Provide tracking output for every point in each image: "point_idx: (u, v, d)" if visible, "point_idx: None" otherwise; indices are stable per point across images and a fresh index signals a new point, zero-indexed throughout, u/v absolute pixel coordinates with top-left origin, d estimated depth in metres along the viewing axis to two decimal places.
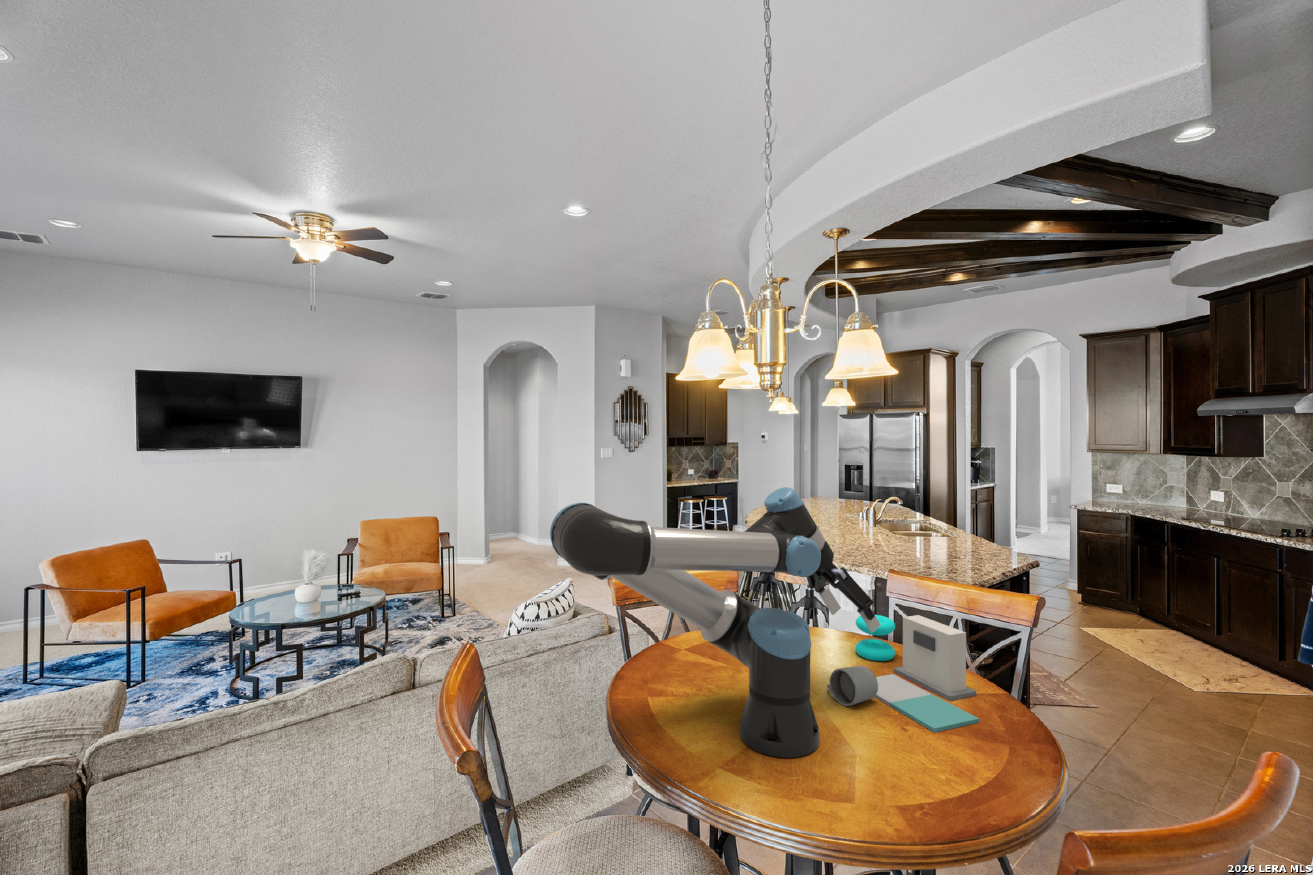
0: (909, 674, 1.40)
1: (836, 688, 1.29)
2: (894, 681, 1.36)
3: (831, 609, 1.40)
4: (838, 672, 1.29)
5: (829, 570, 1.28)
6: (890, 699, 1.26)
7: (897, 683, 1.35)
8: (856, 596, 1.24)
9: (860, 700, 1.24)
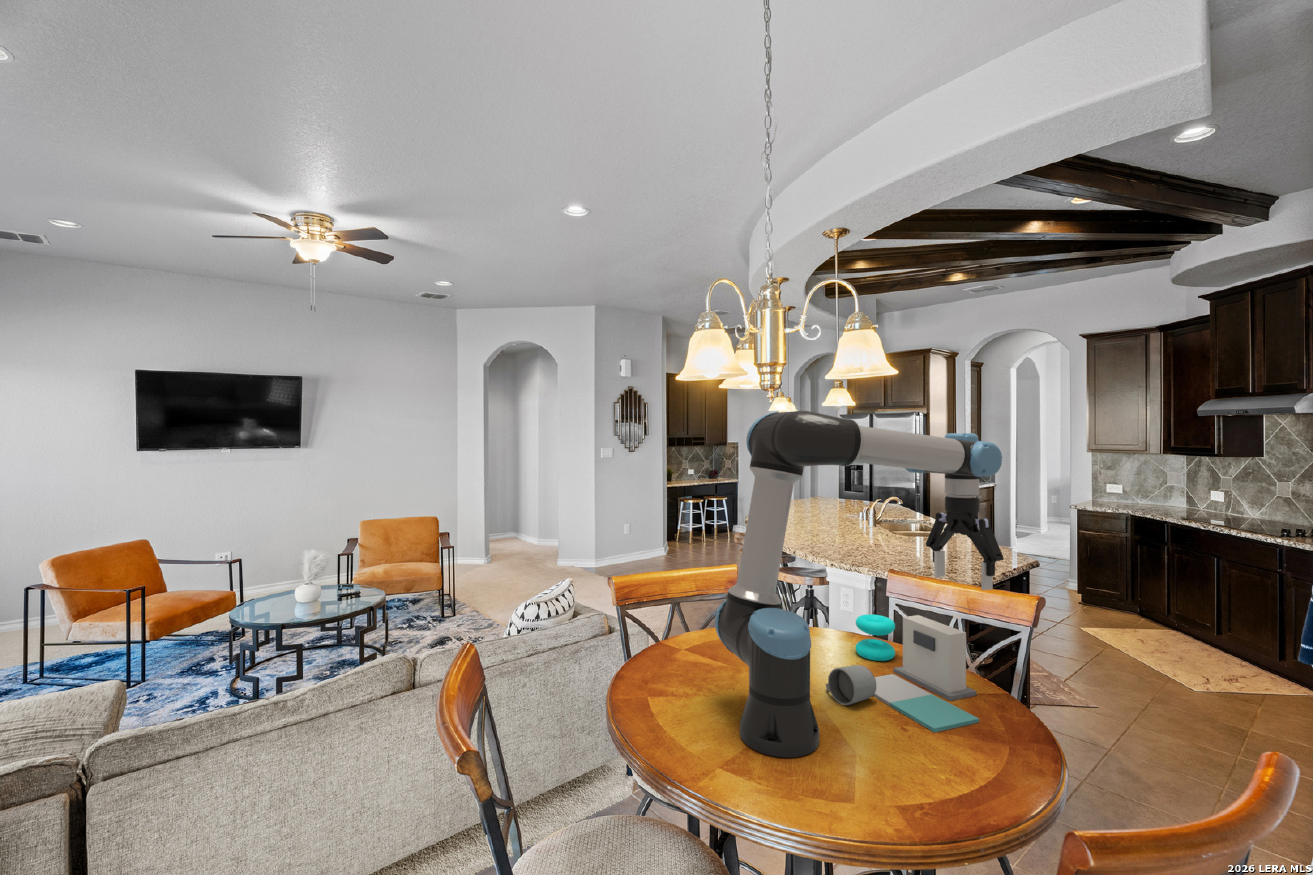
0: (909, 674, 1.40)
1: (835, 688, 1.30)
2: (894, 681, 1.36)
3: (937, 571, 1.46)
4: (837, 671, 1.29)
5: (972, 517, 1.37)
6: (890, 699, 1.26)
7: (897, 683, 1.35)
8: (991, 545, 1.32)
9: (858, 699, 1.24)
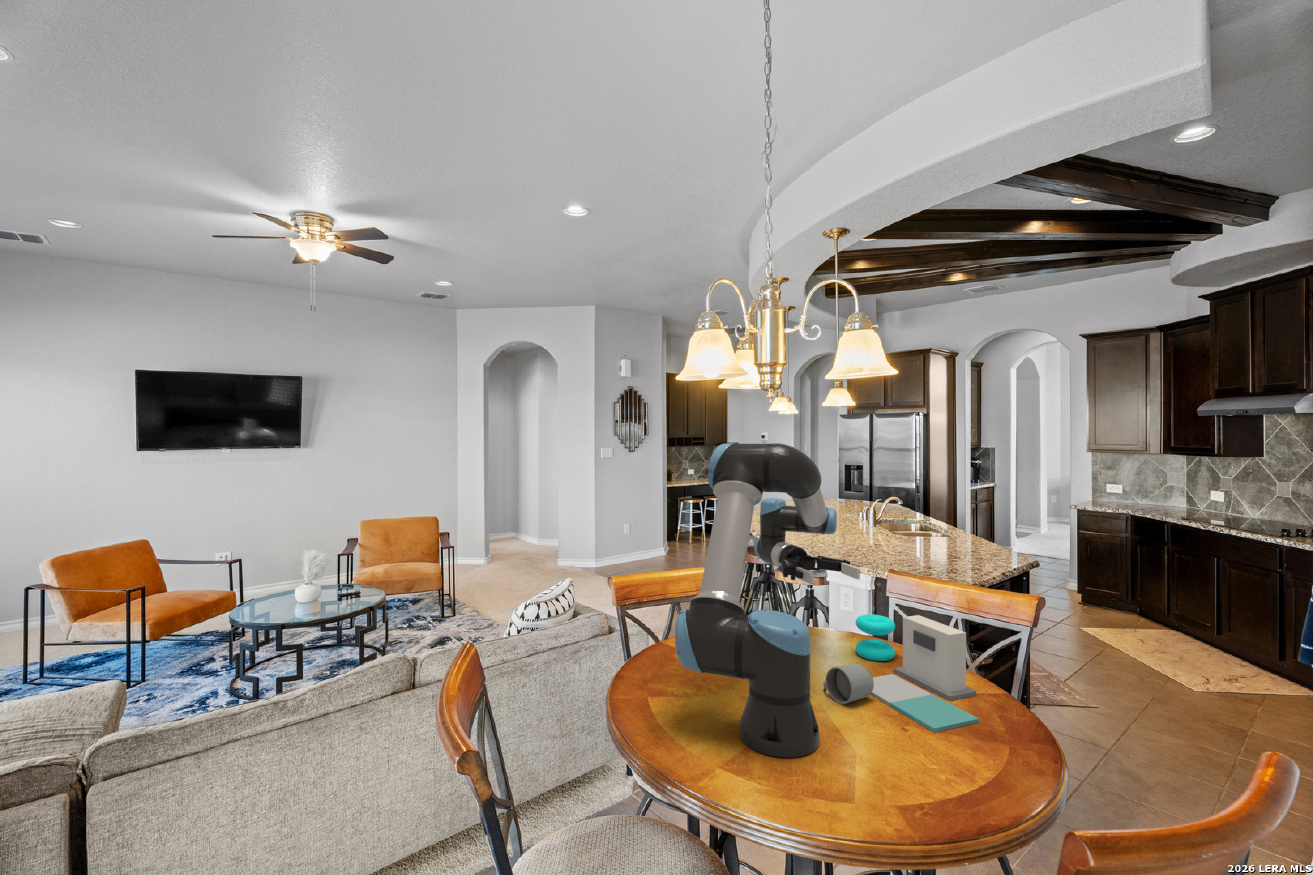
0: (909, 674, 1.40)
1: (832, 686, 1.30)
2: (894, 681, 1.36)
3: None
4: (834, 670, 1.30)
5: None
6: (890, 699, 1.26)
7: (897, 683, 1.35)
8: None
9: (856, 698, 1.25)
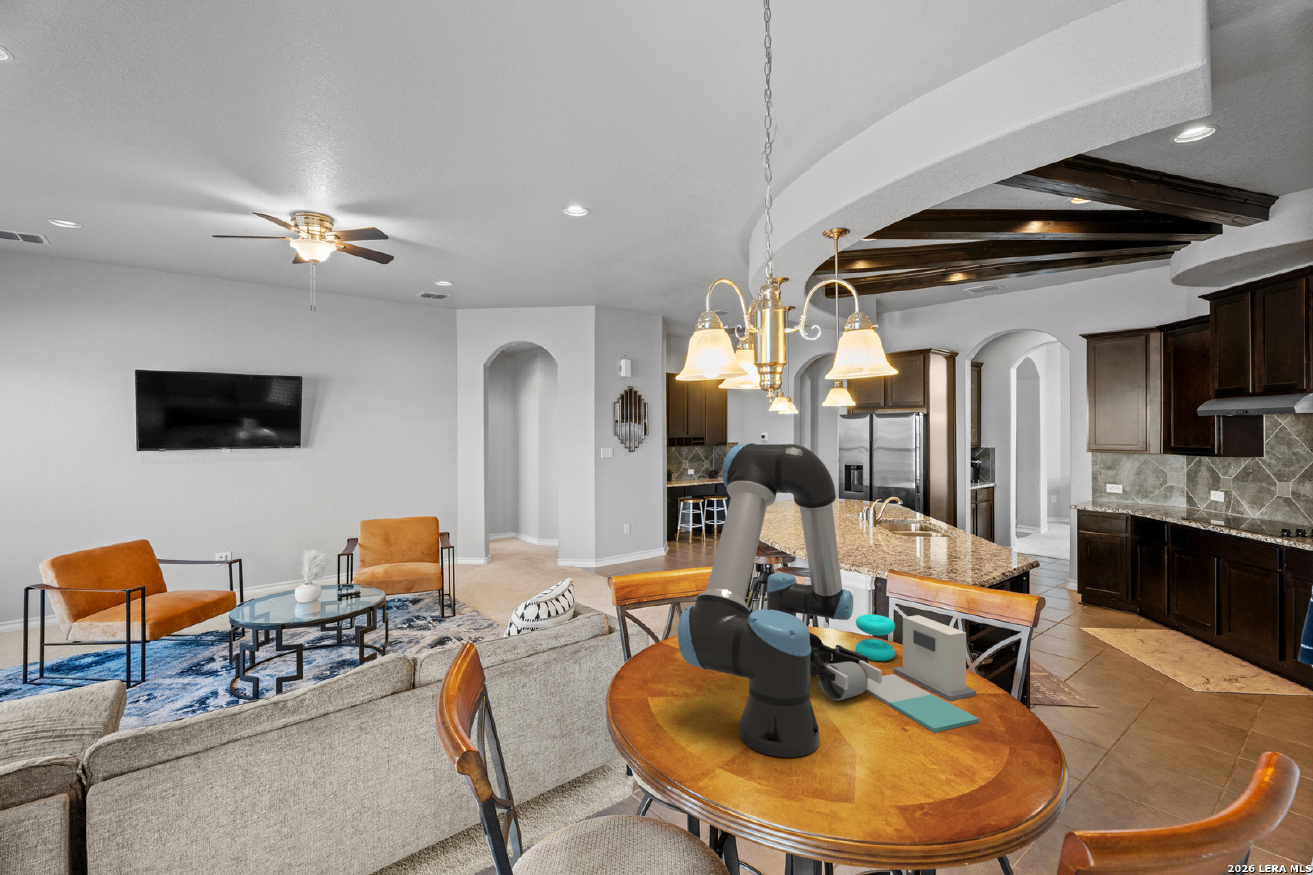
0: (909, 674, 1.40)
1: (827, 684, 1.31)
2: (894, 681, 1.36)
3: None
4: None
5: None
6: (890, 699, 1.26)
7: (897, 683, 1.35)
8: None
9: (849, 695, 1.26)
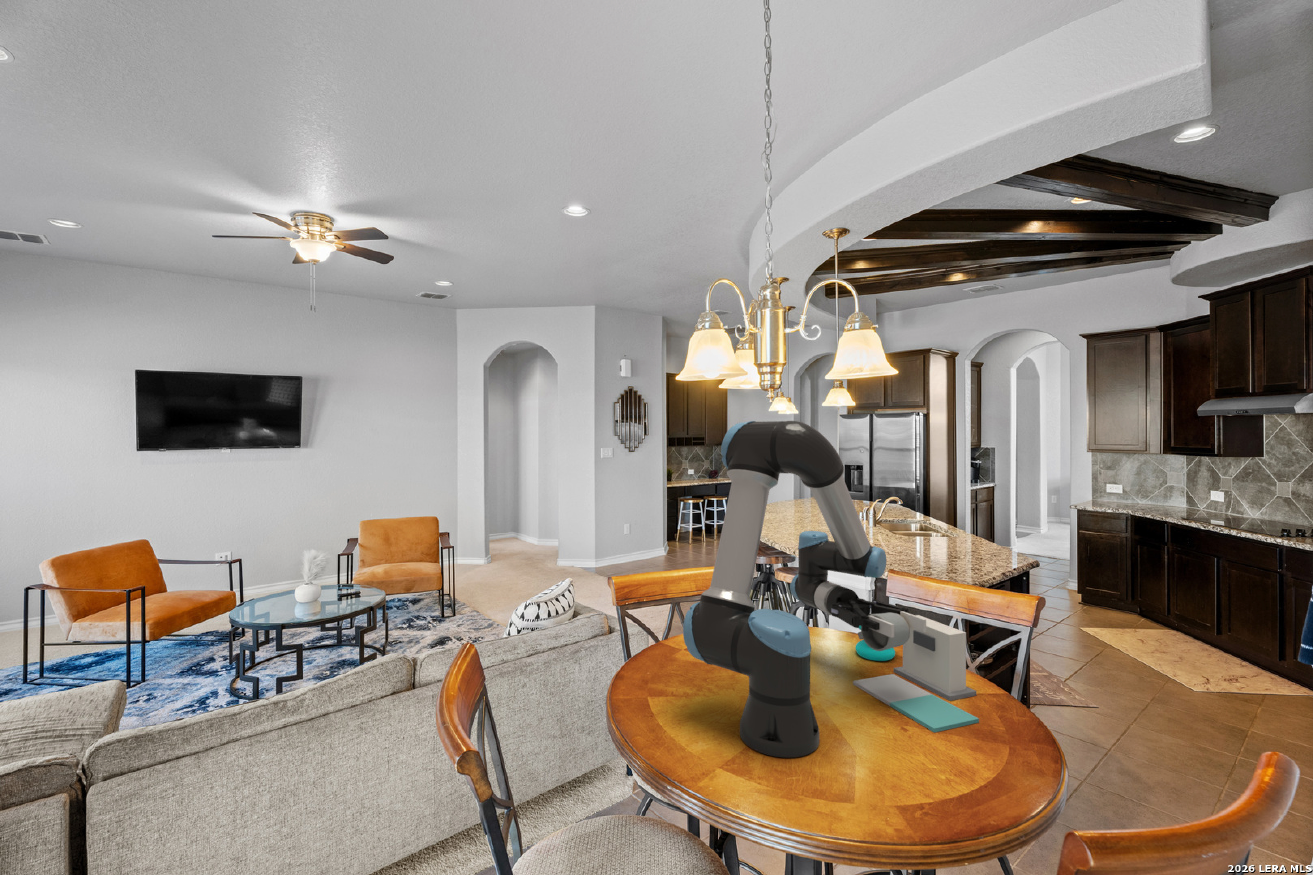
0: (909, 674, 1.40)
1: (868, 635, 1.29)
2: (894, 681, 1.36)
3: None
4: None
5: None
6: (890, 699, 1.26)
7: (897, 683, 1.35)
8: None
9: (893, 644, 1.24)
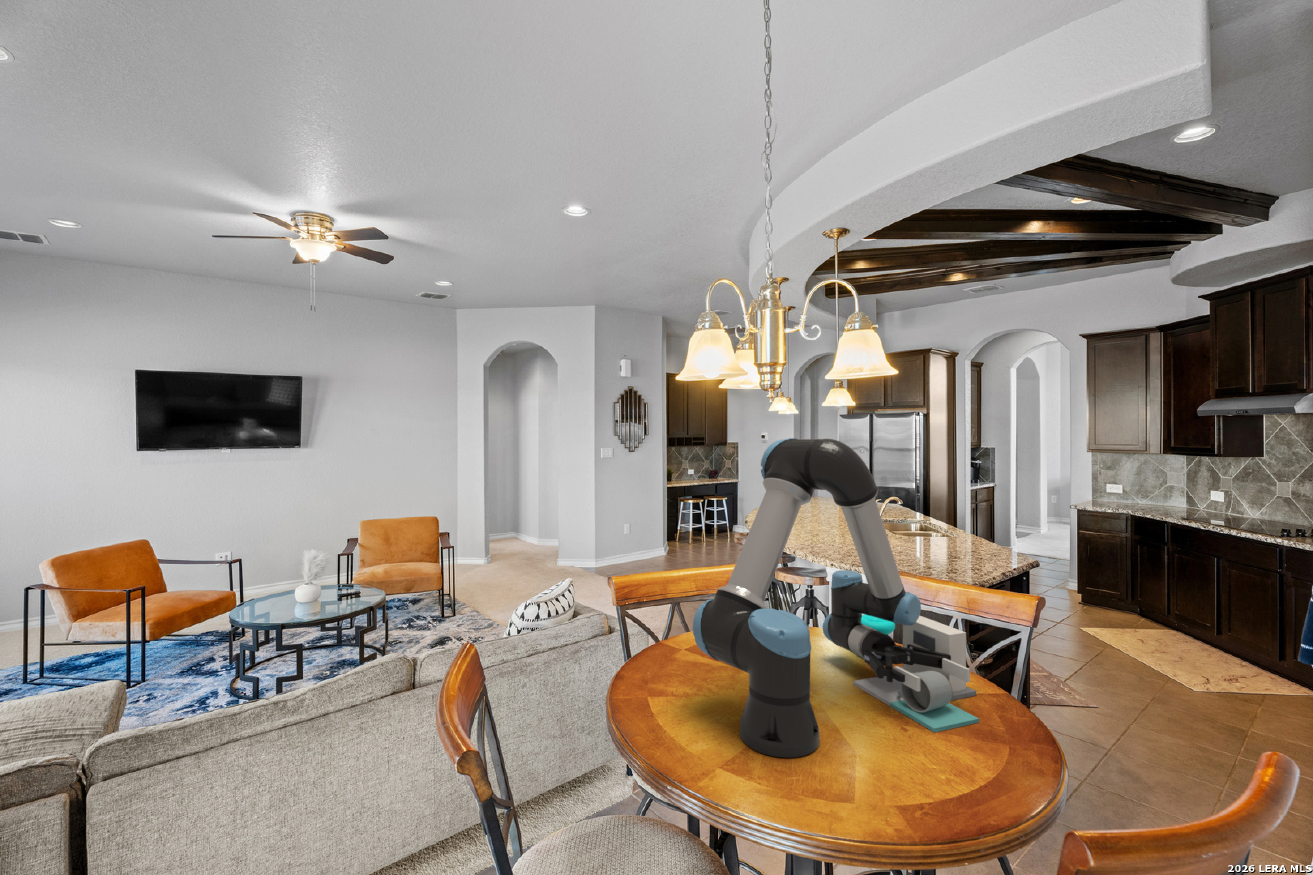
0: None
1: (908, 694, 1.24)
2: (894, 681, 1.36)
3: None
4: None
5: None
6: (890, 699, 1.26)
7: (897, 683, 1.35)
8: None
9: (935, 707, 1.19)
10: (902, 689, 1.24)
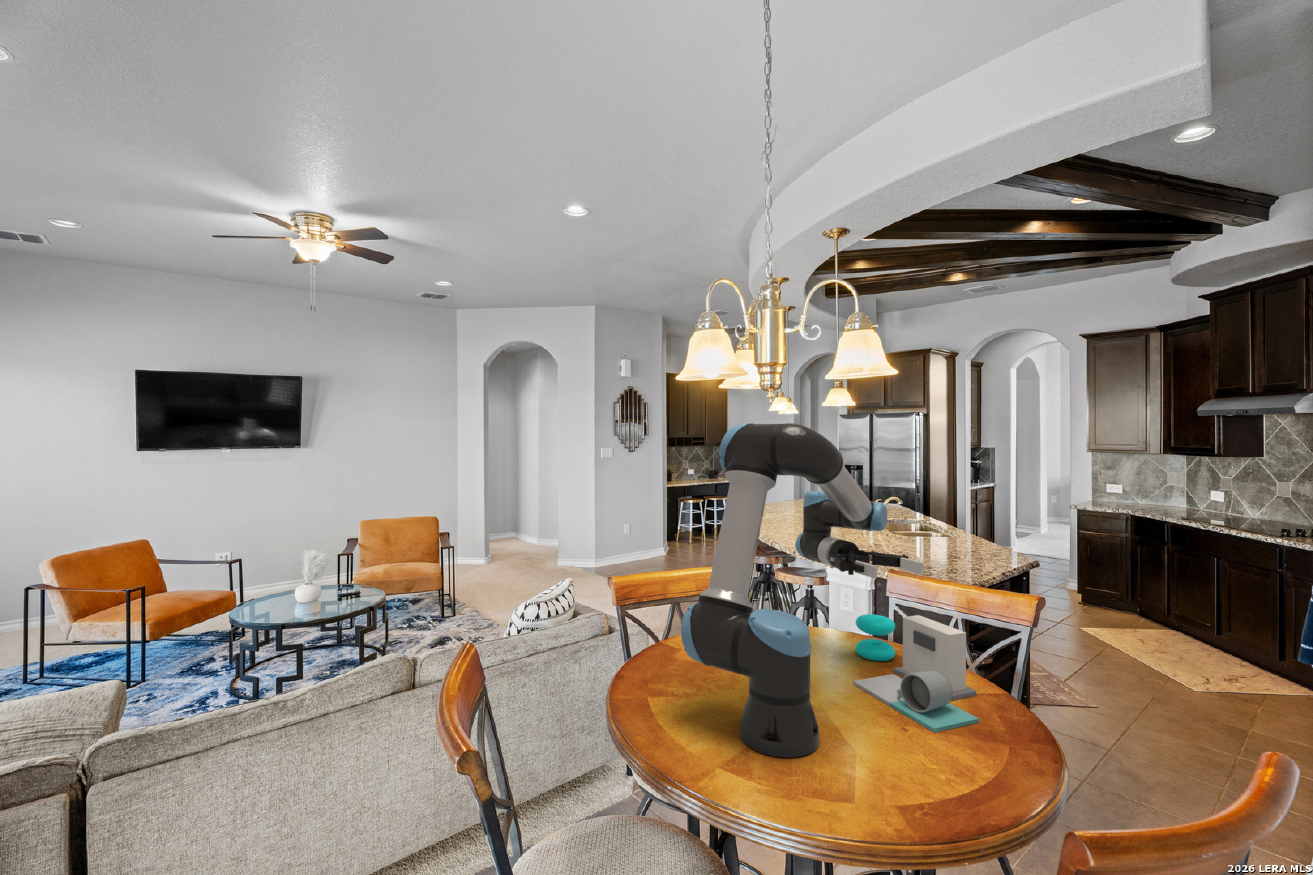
0: None
1: (908, 694, 1.24)
2: (894, 681, 1.36)
3: None
4: (909, 677, 1.24)
5: None
6: (890, 699, 1.26)
7: (897, 683, 1.35)
8: None
9: (935, 707, 1.19)
10: (902, 689, 1.24)
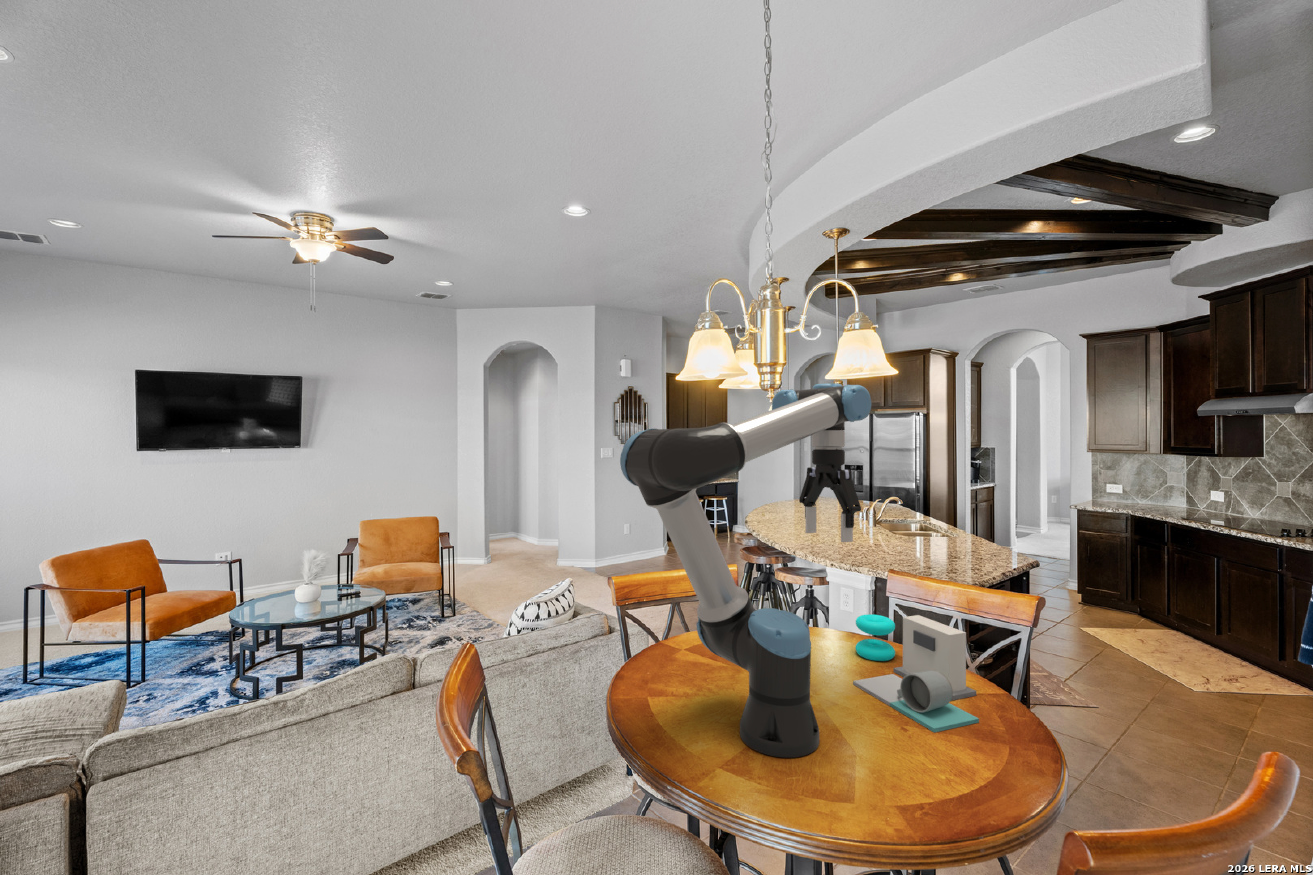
0: None
1: (908, 694, 1.24)
2: (894, 681, 1.36)
3: (808, 526, 1.43)
4: (909, 677, 1.24)
5: (835, 469, 1.34)
6: (890, 699, 1.26)
7: (897, 683, 1.35)
8: (849, 496, 1.29)
9: (935, 707, 1.19)
10: (902, 689, 1.24)
